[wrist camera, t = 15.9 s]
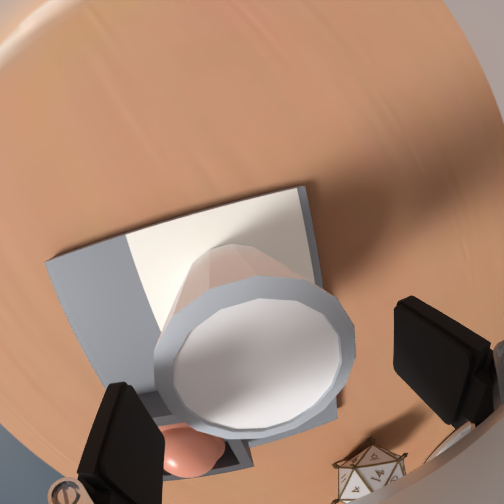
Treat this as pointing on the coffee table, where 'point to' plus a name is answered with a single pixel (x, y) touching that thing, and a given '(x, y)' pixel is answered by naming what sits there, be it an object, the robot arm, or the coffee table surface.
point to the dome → (190, 450)
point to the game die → (368, 472)
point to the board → (174, 292)
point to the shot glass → (251, 346)
